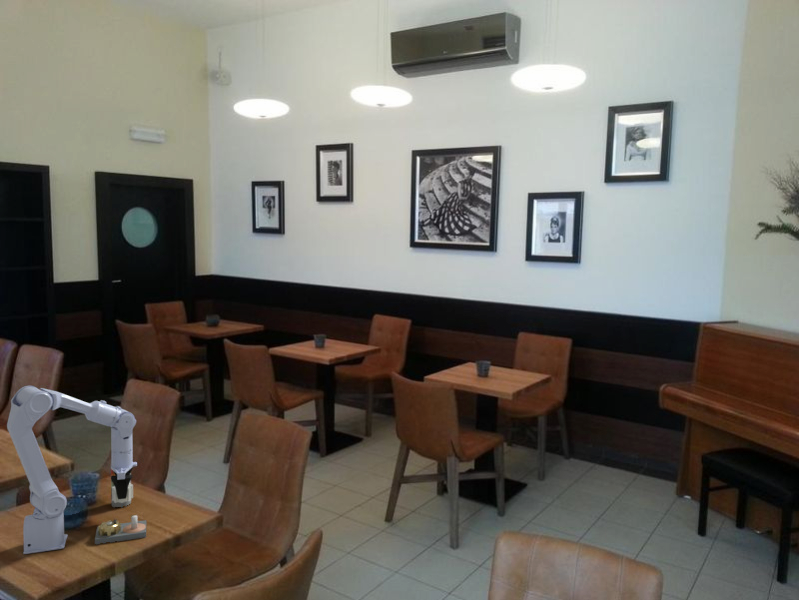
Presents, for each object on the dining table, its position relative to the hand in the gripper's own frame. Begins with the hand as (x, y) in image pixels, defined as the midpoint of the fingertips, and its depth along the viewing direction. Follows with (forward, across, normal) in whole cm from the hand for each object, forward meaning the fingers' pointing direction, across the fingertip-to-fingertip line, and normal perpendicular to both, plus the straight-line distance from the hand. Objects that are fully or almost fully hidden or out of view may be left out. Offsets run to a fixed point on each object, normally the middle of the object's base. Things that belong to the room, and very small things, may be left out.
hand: (122, 494), depth 179 cm
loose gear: (+1, 0, 0) cm, 1 cm away
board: (+8, -9, 0) cm, 12 cm away
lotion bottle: (+8, +13, +1) cm, 16 cm away
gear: (+7, -10, +3) cm, 12 cm away
